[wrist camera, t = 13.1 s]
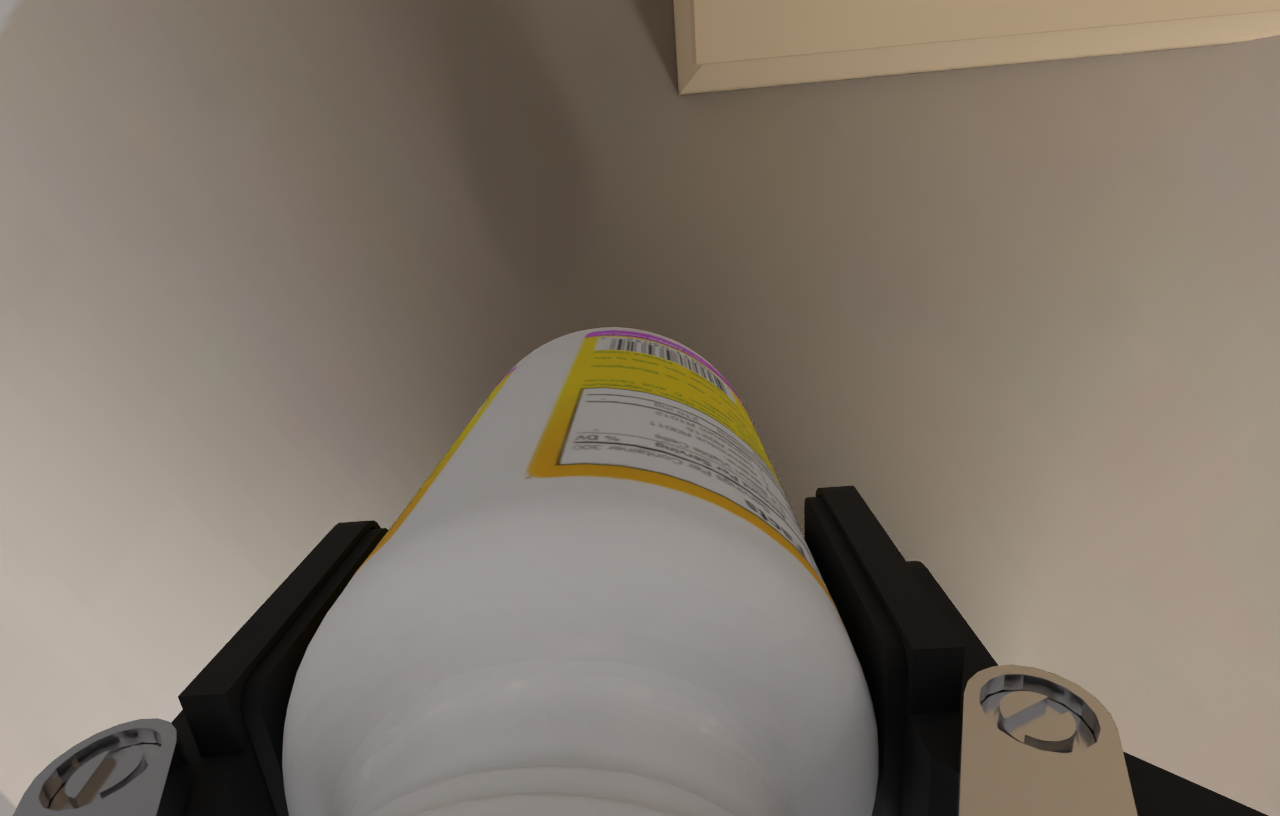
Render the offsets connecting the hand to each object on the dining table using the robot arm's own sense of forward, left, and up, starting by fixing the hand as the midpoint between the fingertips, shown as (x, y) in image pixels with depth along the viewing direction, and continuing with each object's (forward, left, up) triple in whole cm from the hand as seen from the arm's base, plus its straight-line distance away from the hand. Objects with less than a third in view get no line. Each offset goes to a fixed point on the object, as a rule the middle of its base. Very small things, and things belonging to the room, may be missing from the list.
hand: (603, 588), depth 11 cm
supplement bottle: (0, 0, -6) cm, 6 cm away
